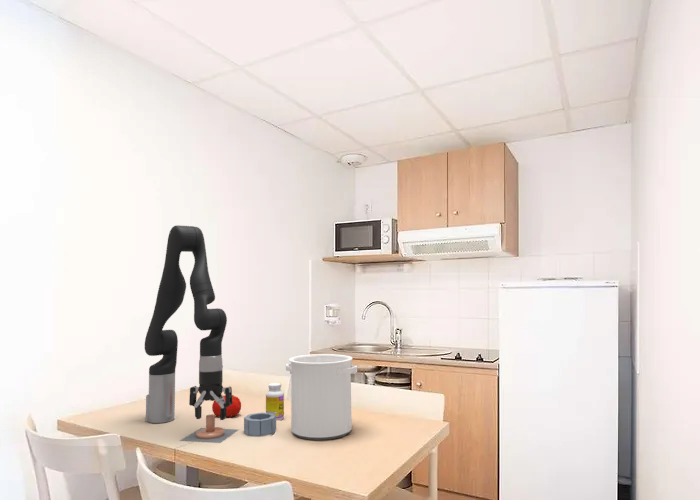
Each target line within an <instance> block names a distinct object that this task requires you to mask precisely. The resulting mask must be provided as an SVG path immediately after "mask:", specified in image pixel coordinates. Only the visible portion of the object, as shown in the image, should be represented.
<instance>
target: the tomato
mask: <svg viewBox="0 0 700 500" xmlns="http://www.w3.org/2000/svg"><path fill="white" fill-rule="evenodd" d="M222 396H223V397H224V400H225V401H226V399H225V394H224V395H222ZM211 409H212V412H213V415H215V417H218V418H220V409H221V407H220V405H219V404H218V403H217V402H216V401H212V408H211ZM241 410H242V402H241V399H240V398H239V397H238V396H235V395H233V394H232V405H230V406H228V407H227V416H226V417H225V419H226V418H227V419H228V418H230V417H235V416H237V415H239V413H240V412H241Z"/></svg>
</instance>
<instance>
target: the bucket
mask: <svg viewBox="0 0 700 500" xmlns="http://www.w3.org/2000/svg"><path fill="white" fill-rule="evenodd" d="M288 361H289V363H286V364H285V371H287V372H289V374H290V375H291V379H290V381H291V384H290V385H291V387H290V388H291V389H290V392H291V393H290V394H291V395H290V397H291V398H290V399H291V401H290V403H291V408H290V409H291V410H290V411H291V412H290V414H291V416H290V419H291V433H292V434H293V435H294V436H295V437H297V438H300V439H303V440H308V441H309V440H310V441H329V440H335V439H339V438H342V437H346V436H347V435H348V434H350V432H351V431H352V374H353V375H354V374H356V373H358V365H353V364H352V361H353V357H352V356H351V355H347V354H337V353H316V354H315V353H313V354H303V355H302V354H301V355H296V356H293V357H290V358H289V360H288Z"/></svg>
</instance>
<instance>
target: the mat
mask: <svg viewBox="0 0 700 500" xmlns="http://www.w3.org/2000/svg"><path fill="white" fill-rule="evenodd" d="M204 428H205V427H200V428H199V429H197V430H195V431H193V432H191V433H190V434H188V435H187V436H185V437H183V438H182V439H180V440H179V442H196V443H197V442H198V443H216V444H221V443H223V442H224V441H226V439H228V438H230V437H231V436H232V435H234V434H236V432H238V431H239V429H234V428H233V429H231V428H223V429H224V435H223V436H221V437H218V438H213V439H199V438H197V437H196V432H197V431H198V430H200V429H204Z"/></svg>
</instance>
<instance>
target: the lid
mask: <svg viewBox="0 0 700 500" xmlns="http://www.w3.org/2000/svg"><path fill="white" fill-rule="evenodd" d="M203 428H204V429H200V428H199V429H200V430H199V429H197V430H198V431H197V430H196V431H197V432H196V437H197V438H199V439H213V438H218V437H221V436H223V435H224V429H225V428H223V427H219V426H218V427H216V415H215V414H207V415H206V416H205V427H203Z"/></svg>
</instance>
